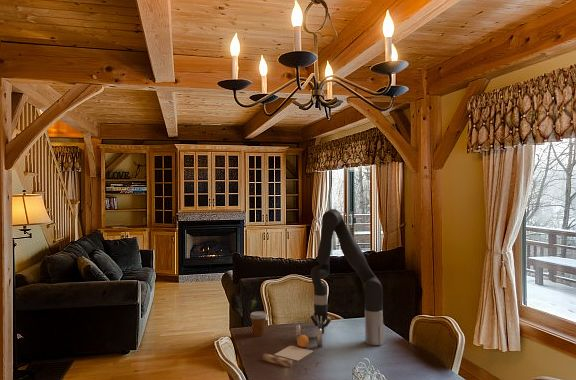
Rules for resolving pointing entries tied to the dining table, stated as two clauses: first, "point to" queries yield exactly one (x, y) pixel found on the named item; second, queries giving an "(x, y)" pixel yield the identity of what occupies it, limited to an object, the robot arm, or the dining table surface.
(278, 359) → the stopper wall
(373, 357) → the dining table surface
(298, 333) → the far post
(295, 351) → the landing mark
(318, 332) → the near post
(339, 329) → the dining table surface
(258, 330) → the disposable coffee cup
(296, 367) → the dining table surface
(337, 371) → the dining table surface
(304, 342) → the ball
